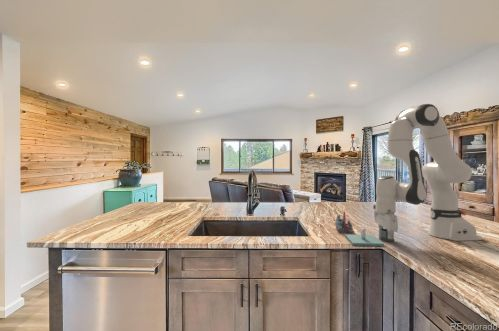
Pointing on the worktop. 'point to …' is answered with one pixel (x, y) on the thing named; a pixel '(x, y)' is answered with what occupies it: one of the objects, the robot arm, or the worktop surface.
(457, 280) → the worktop surface
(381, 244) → the shaft block
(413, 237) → the worktop surface
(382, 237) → the hub
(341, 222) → the grey red spired figurine
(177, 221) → the worktop surface
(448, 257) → the worktop surface
